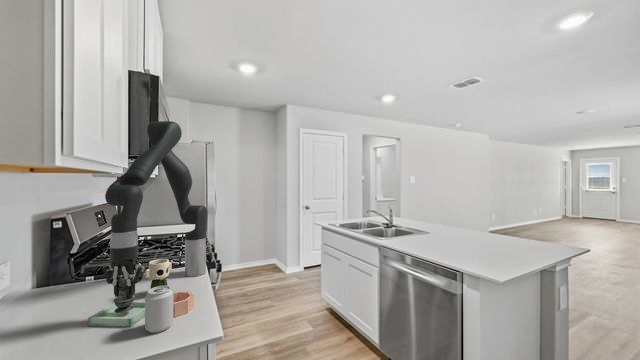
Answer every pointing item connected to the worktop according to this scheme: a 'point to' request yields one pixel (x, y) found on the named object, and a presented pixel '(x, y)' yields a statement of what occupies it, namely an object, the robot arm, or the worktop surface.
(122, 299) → the grey lumpy tower
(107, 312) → the tray
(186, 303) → the orange polygonal bowl
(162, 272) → the character mug
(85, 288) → the worktop surface
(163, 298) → the can
